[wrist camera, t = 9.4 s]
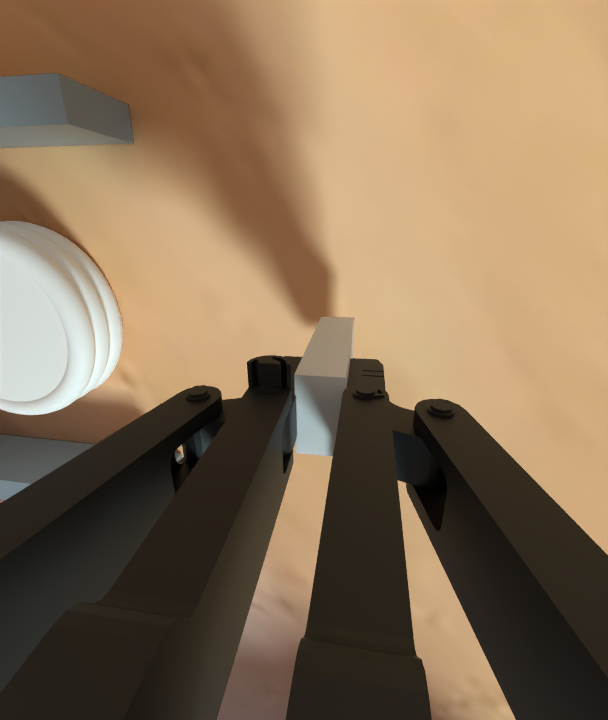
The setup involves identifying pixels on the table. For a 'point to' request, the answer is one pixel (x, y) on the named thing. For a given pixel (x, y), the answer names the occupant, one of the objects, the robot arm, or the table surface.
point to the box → (37, 129)
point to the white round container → (52, 321)
